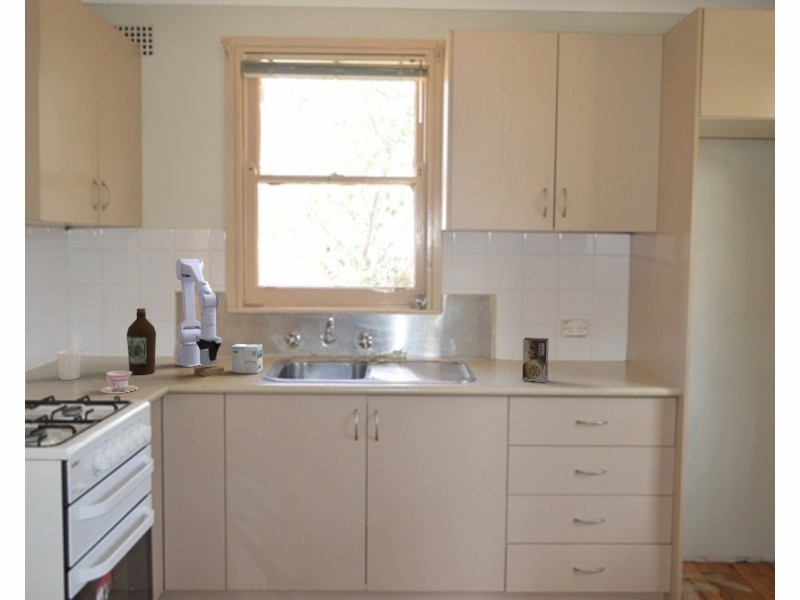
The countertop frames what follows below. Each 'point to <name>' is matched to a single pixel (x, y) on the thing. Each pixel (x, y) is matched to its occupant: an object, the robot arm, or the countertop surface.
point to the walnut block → (208, 370)
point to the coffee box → (535, 359)
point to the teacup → (118, 381)
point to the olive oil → (141, 345)
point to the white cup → (69, 364)
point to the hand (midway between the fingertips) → (208, 359)
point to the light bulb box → (247, 358)
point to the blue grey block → (206, 358)
